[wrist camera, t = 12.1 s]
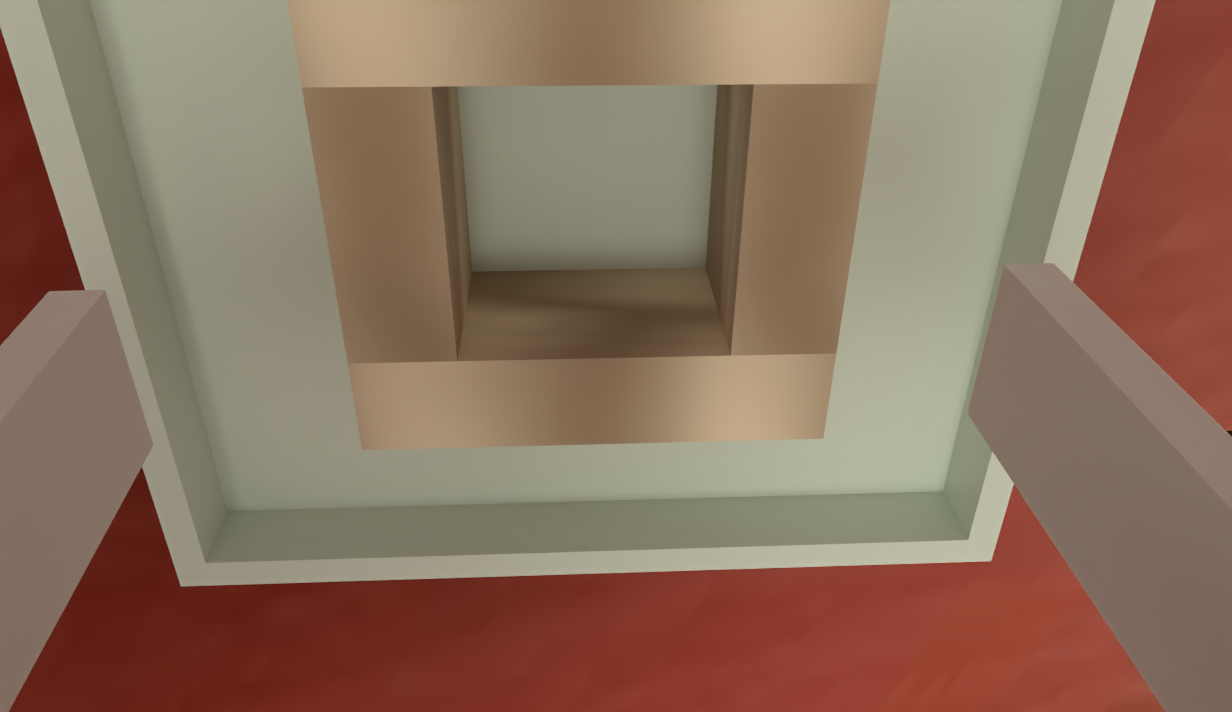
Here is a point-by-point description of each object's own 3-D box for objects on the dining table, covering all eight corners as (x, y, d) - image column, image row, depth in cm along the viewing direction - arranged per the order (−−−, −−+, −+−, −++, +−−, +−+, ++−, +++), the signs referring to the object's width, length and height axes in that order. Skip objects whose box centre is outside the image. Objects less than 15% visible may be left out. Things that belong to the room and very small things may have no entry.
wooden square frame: (390, 351, 24) (362, 449, 21) (329, -86, 19) (278, -50, 15) (786, 344, 24) (823, 438, 21) (837, -85, 19) (897, -51, 16)
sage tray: (211, 519, 27) (180, 586, 25) (-72, -474, 16) (-174, -511, 14) (957, 498, 28) (990, 560, 26) (1199, -448, 17) (1296, -479, 15)
